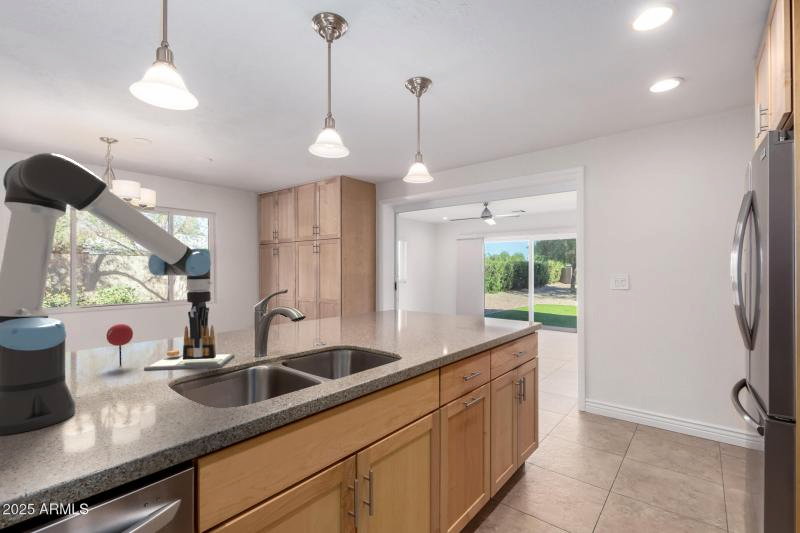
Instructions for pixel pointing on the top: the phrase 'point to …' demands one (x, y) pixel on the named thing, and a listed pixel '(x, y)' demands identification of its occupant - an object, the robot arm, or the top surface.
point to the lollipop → (119, 336)
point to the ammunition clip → (207, 345)
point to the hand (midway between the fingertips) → (199, 355)
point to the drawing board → (189, 362)
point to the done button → (173, 353)
